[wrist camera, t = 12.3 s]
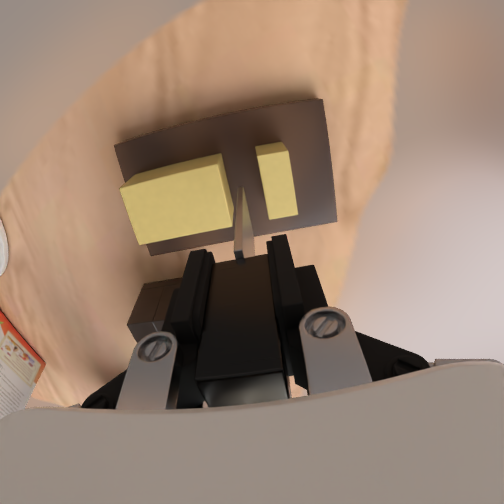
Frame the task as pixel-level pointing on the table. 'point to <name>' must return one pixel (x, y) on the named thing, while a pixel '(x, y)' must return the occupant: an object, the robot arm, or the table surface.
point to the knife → (241, 328)
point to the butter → (179, 200)
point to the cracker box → (16, 369)
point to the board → (246, 164)
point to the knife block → (151, 308)
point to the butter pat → (277, 180)
